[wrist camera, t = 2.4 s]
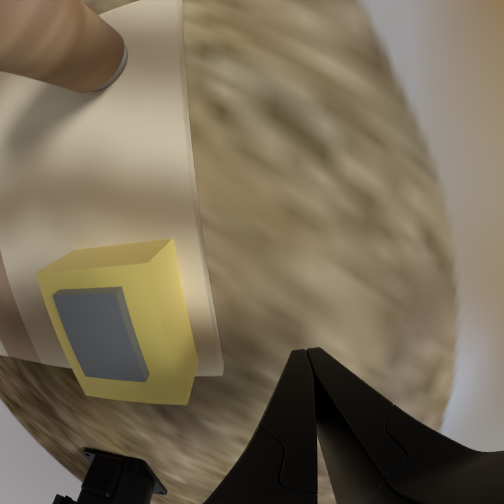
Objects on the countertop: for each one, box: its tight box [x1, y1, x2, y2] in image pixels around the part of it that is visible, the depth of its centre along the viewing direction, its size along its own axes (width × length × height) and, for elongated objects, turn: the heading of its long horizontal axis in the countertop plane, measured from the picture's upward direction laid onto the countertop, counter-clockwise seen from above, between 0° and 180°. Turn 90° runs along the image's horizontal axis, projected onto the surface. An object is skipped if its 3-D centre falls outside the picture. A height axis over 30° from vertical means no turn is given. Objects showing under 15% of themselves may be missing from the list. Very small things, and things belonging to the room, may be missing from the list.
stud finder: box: [35, 238, 199, 405], centre depth 11 cm, size 6×5×4 cm
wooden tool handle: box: [0, 0, 128, 93], centre depth 6 cm, size 3×3×7 cm
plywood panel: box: [0, 0, 224, 376], centre depth 11 cm, size 18×19×1 cm
